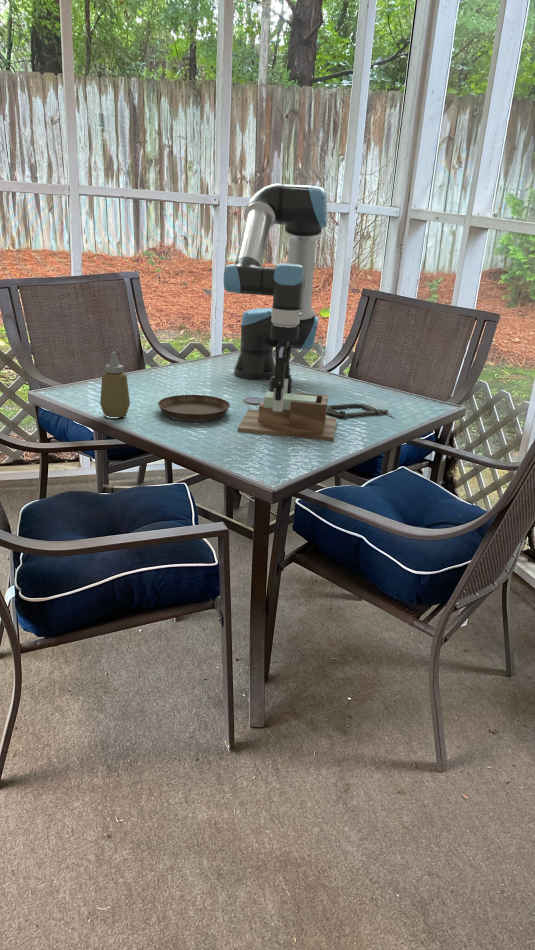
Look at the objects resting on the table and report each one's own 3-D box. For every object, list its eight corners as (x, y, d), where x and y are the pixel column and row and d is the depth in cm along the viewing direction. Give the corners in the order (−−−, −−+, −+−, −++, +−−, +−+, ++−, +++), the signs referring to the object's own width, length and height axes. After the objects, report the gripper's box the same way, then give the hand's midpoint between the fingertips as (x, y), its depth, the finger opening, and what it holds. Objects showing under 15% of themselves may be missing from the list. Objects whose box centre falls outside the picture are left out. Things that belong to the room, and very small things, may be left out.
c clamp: (371, 405, 213) (372, 397, 212) (400, 422, 199) (401, 413, 197) (314, 408, 206) (315, 400, 205) (339, 426, 191) (340, 417, 190)
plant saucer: (152, 405, 198) (152, 394, 197) (219, 402, 205) (220, 392, 204) (164, 426, 180) (164, 415, 179) (238, 423, 187) (238, 412, 186)
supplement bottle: (288, 410, 201) (291, 371, 197) (266, 407, 202) (268, 368, 198) (291, 404, 207) (294, 366, 203) (270, 401, 208) (273, 363, 204)
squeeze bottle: (117, 422, 180) (115, 357, 173) (94, 416, 184) (91, 352, 177) (136, 415, 187) (135, 352, 180) (114, 410, 190) (112, 347, 183)
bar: (266, 401, 188) (267, 391, 187) (316, 406, 187) (317, 396, 186) (263, 407, 183) (264, 397, 182) (314, 412, 181) (315, 401, 180)
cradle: (248, 412, 196) (249, 384, 193) (336, 421, 194) (339, 392, 191) (237, 431, 180) (239, 400, 177) (333, 440, 177) (336, 410, 174)
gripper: (295, 333, 166) (288, 418, 175) (302, 319, 186) (296, 396, 195) (265, 330, 167) (260, 415, 175) (276, 317, 187) (271, 394, 196)
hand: (279, 405), depth 185 cm, fingers open, 9 cm apart
